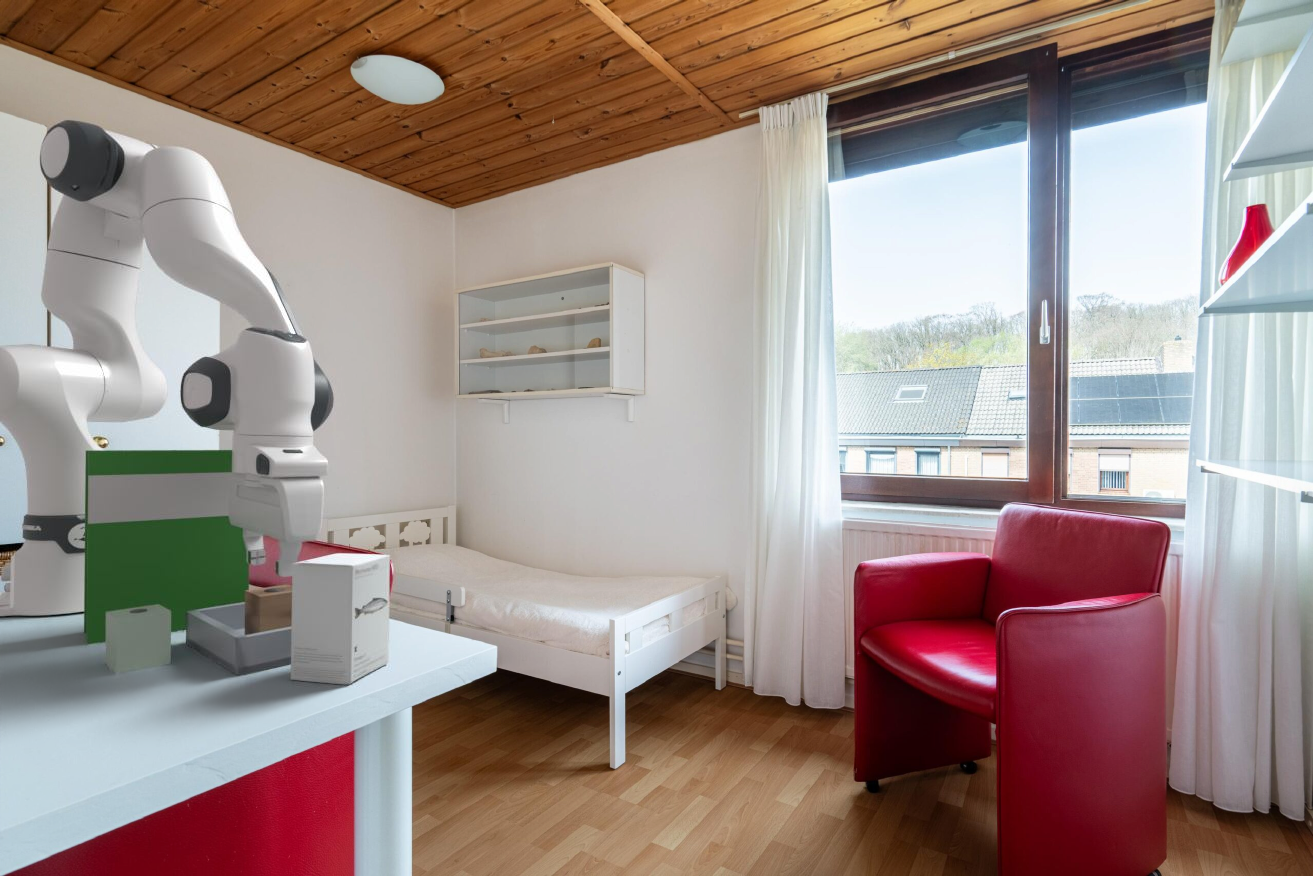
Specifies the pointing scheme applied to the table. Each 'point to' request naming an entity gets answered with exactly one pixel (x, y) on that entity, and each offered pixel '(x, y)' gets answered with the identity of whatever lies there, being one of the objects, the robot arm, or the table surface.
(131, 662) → the sage block
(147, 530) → the hardback book
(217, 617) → the tray
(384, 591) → the supplement box
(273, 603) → the walnut block
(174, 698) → the table surface
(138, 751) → the table surface
